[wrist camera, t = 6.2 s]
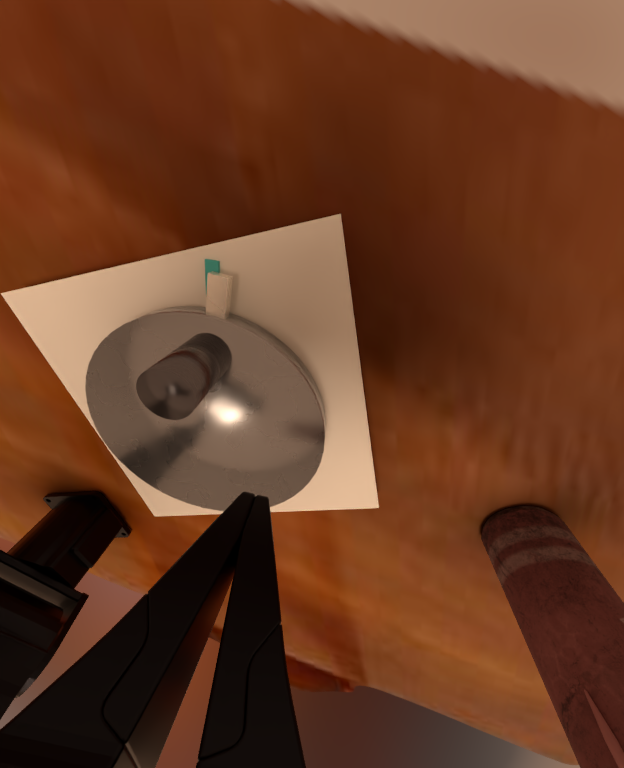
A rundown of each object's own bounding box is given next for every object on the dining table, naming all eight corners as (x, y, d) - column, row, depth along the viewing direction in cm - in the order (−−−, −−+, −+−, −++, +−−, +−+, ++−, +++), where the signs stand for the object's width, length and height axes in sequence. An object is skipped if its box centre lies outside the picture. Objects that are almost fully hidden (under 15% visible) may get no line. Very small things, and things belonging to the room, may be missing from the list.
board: (164, 502, 27) (153, 518, 26) (26, 288, 18) (-3, 294, 16) (376, 492, 23) (379, 510, 22) (341, 215, 14) (340, 213, 13)
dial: (299, 513, 23) (285, 593, 18) (116, 467, 23) (52, 535, 18) (369, 311, 14) (380, 355, 10) (80, 232, 14) (-64, 236, 9)
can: (514, 491, 22) (730, 830, 9) (578, 521, 22) (853, 869, 10) (460, 532, 25) (572, 831, 12) (519, 557, 25) (678, 862, 13)
